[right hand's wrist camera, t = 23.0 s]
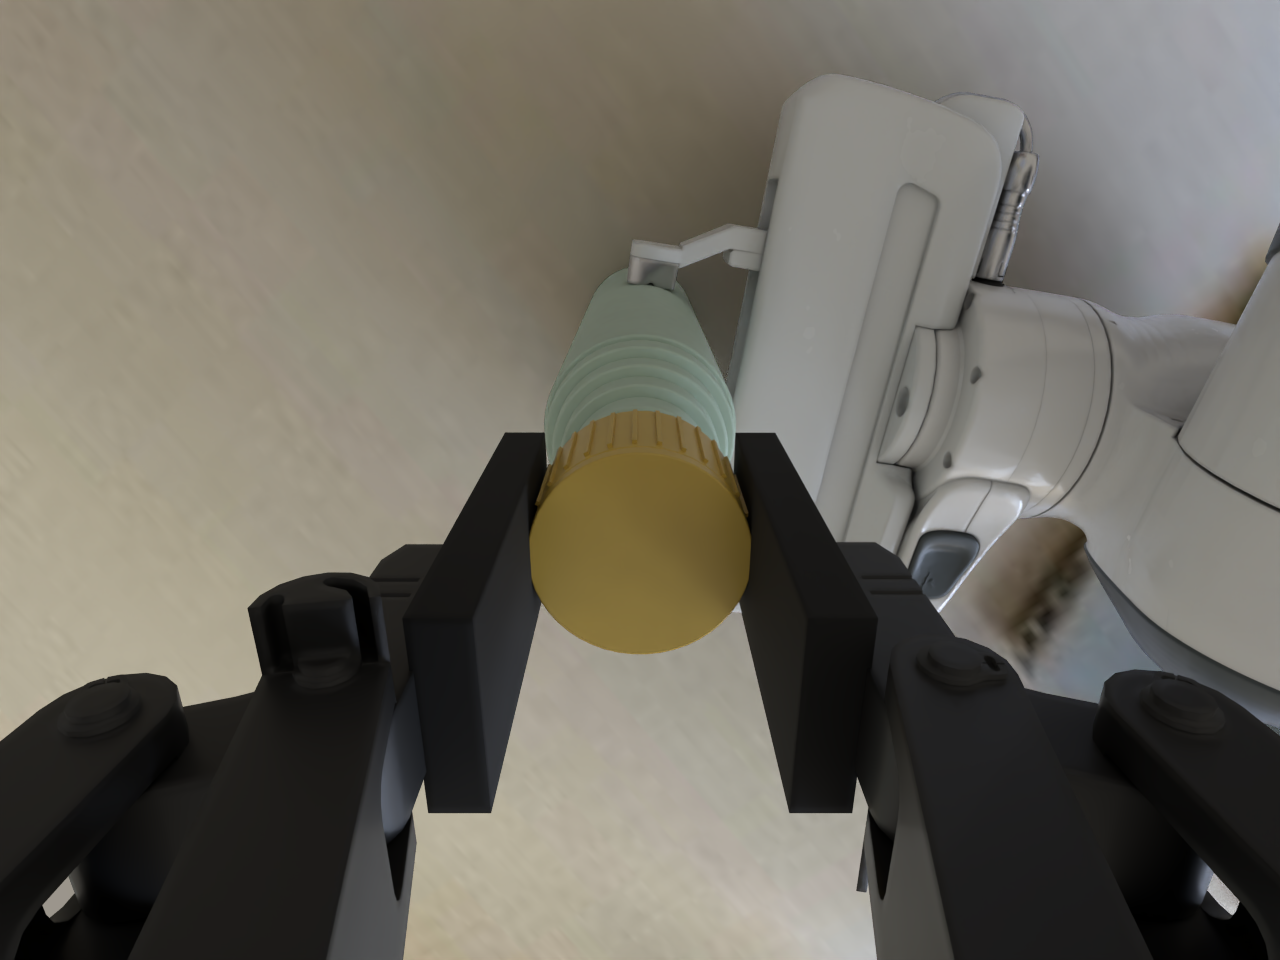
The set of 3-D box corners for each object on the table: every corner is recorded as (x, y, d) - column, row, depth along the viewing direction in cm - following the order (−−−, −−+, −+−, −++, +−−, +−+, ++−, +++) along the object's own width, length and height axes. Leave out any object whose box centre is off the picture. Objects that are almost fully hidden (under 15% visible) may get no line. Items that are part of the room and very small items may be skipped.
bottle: (681, 255, 33) (758, 377, 12) (700, 359, 35) (797, 632, 13) (577, 278, 34) (464, 437, 12) (601, 380, 35) (539, 678, 14)
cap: (706, 379, 13) (720, 417, 11) (761, 557, 15) (782, 623, 13) (511, 442, 14) (487, 490, 12) (581, 609, 15) (571, 682, 13)
